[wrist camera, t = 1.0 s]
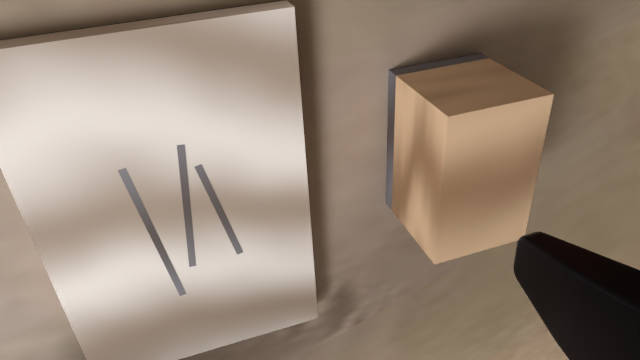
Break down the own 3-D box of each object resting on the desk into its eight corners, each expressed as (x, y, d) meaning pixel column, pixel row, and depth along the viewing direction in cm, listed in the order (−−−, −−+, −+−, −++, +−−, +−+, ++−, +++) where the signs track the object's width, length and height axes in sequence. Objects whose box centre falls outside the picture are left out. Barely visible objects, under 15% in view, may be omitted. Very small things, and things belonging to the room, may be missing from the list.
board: (312, 304, 28) (318, 318, 28) (97, 367, 26) (96, 384, 25) (286, 0, 20) (294, 6, 19) (-43, 46, 17) (-50, 56, 16)
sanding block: (463, 181, 28) (524, 238, 24) (384, 201, 27) (434, 264, 23) (478, 52, 24) (554, 94, 20) (387, 68, 23) (448, 116, 19)
